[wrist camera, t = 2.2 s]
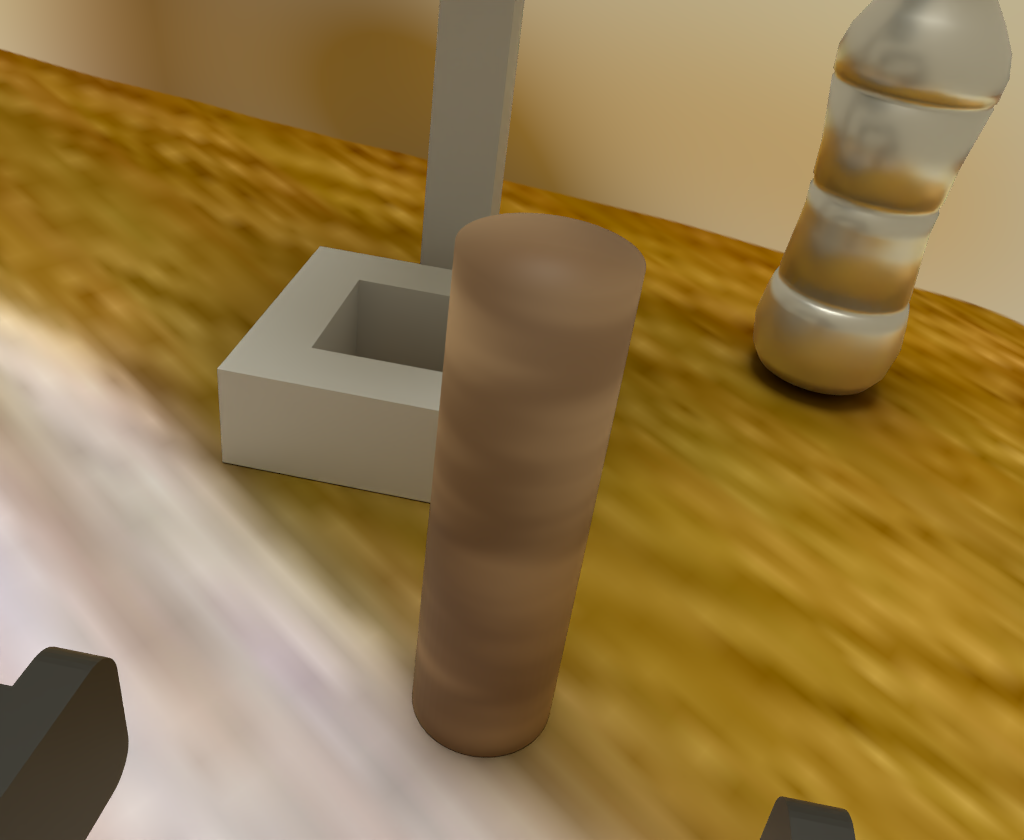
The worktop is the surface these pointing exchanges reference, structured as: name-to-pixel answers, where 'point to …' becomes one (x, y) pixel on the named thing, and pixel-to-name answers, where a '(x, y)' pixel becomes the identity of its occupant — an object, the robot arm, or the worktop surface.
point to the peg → (517, 468)
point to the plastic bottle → (879, 187)
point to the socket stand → (380, 299)
